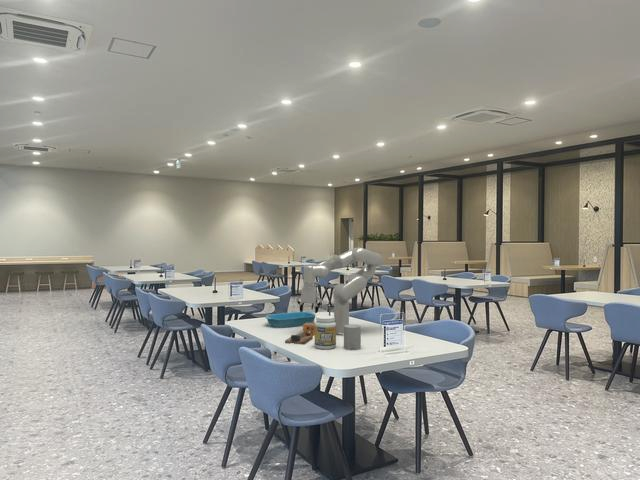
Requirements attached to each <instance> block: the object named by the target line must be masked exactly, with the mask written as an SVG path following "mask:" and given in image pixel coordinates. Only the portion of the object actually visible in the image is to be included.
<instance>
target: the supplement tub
mask: <svg viewBox="0 0 640 480" xmlns="http://www.w3.org/2000/svg"><path fill="white" fill-rule="evenodd" d="M334 320H335V317H334V315H333V316H332V315H317V316H315V321H314V323H315V335H314V344H313V345H314V347H315V348H316V349H320V350H331V349H335V348H336V346H337V334H336V323H335V322H334Z"/></svg>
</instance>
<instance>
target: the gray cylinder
mask: <svg viewBox="0 0 640 480" xmlns="http://www.w3.org/2000/svg"><path fill="white" fill-rule="evenodd" d="M361 327H362V326H361V325H360V324H354V323H353V324H352V323H349V325H344V335H343V349H345V350H347V351H358V350H361V348H362V342H361V341H362V332H361V331H362V330H361V329H362V328H361Z"/></svg>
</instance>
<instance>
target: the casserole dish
mask: <svg viewBox="0 0 640 480" xmlns="http://www.w3.org/2000/svg"><path fill="white" fill-rule="evenodd" d="M316 315H317V314H316V313H315V312H309V311H302V312H300V311H295V312H281V313H280V312H279V313H272V314H271V313H270V314H267V315H266V316H265V319H266V320H267V323H268V325H270V326H271V327H274V328H277V329H278V328H279V329H282V328H283V329H284V328H292V327H293V328H294V327H303V324H305V323H315V320H316V317H317V316H316Z"/></svg>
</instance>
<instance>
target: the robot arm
mask: <svg viewBox="0 0 640 480" xmlns="http://www.w3.org/2000/svg"><path fill="white" fill-rule="evenodd" d="M357 262H361V263H364V264H363V267H362V268H360V269H359V270H358V271H356V272H355V273H353V274H352V275H351V276H350V277H348V279H347V283H338V284H336V285H335V286H334V287H333V290H332V295H333V317H335V320H334V322H335V323H336V336H337V335H340V336H344V325H349V324H350V302H349V301H350V300H351V299H353V298H354V297H356V296H357V295H358V294H360V293H361V292H362V291H364V290H365V288H367V284H368V281H369V280H371V279H372V278H373V276H374V275H375V272H376V270H377V268H378V267H380V266H382V265H383V262H384V258H383V256H382V255H381V254H380V253H378V252H374V251H371V250H369V249H366V248H363V247H354V248H351V249H349V250H347V251H345V252H343V253H340V254H338V255H336V256H334V257H331V258H328V259H326V260H324V261H322V262H320V263H318V264H316V265H313V264H312V265H311V264H310V265H308V264H307V265H304V267H303V286H302V287H301V294H300V296H298V297H296V298H295V300H296V303H297V304H298V306H299V312H304V305H303V304H314V305H315V307H314V313H315V314H317V313H318V312H319V306H320V305H321V304H322V302H323V300H324V299H322V298H321V297H319V294H318V288H317V286H318V284H319V283H317V282H316V278H326V277H327V276H329V272H331V271H335V270H338V269H343V268H346V267H348V266H350V265H352V264H354V263H357Z"/></svg>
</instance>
